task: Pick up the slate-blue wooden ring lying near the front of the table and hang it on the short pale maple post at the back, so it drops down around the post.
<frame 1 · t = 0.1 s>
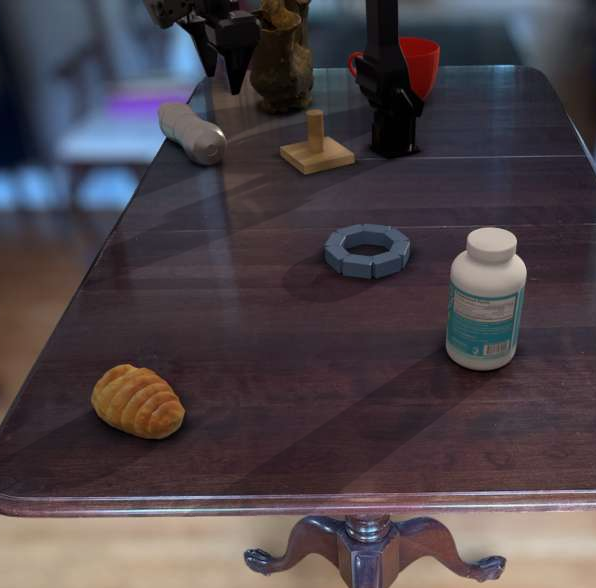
hand: (222, 85, 99), 15 cm above the table, tool pointing down, fingers open, 9 cm apart
plastic bottle: (211, 149, 111), point 3 cm above the table
pottery vessel: (286, 104, 137), on the table
pill bottle: (479, 354, 77), on the table
pastry: (143, 413, 70), on the table
ceramic cup: (392, 104, 137), on the table
stand: (317, 159, 116), on the table
ring: (367, 257, 92), on the table
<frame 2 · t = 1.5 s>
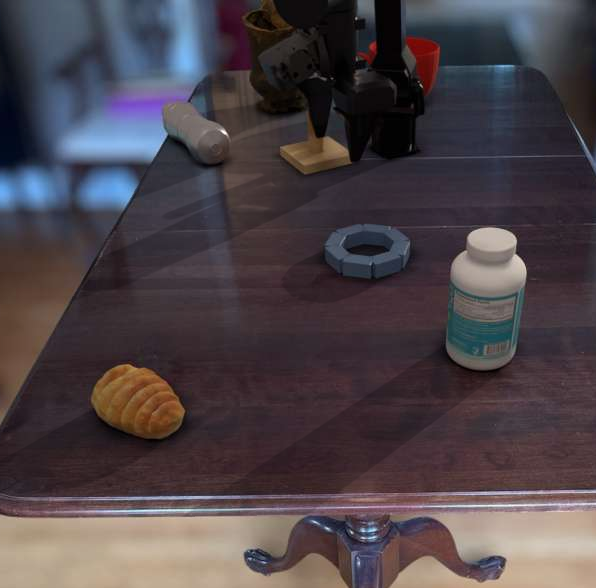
hand: (337, 149, 88), 12 cm above the table, tool pointing down, fingers open, 9 cm apart
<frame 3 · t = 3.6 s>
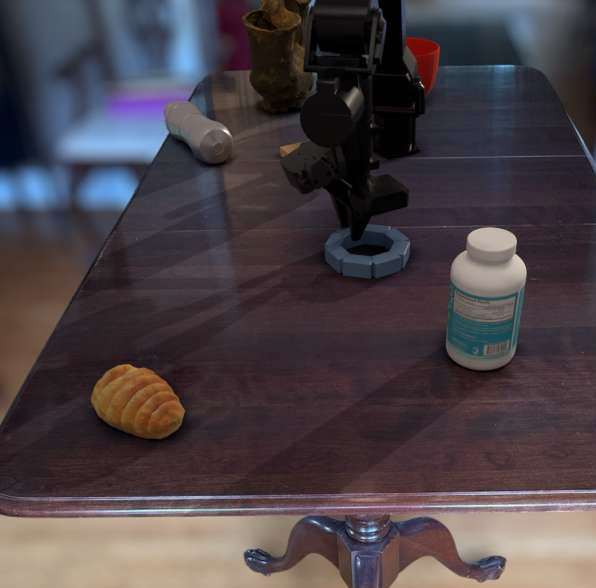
hand: (351, 236, 94), 1 cm above the table, tool pointing down, fingers closed on ring, 2 cm apart
ring: (367, 257, 92), on the table, touching gripper
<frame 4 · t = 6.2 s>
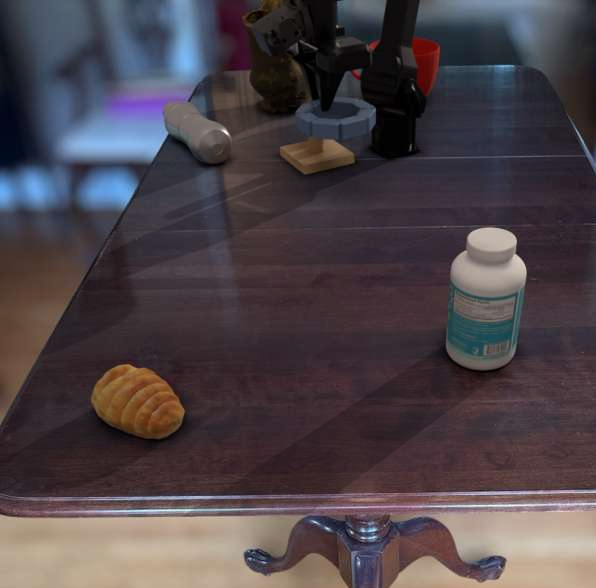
hand: (321, 108, 100), 12 cm above the table, tool pointing down, fingers closed on ring
ring: (336, 125, 98), point 11 cm above the table, touching gripper
everything else where it was.
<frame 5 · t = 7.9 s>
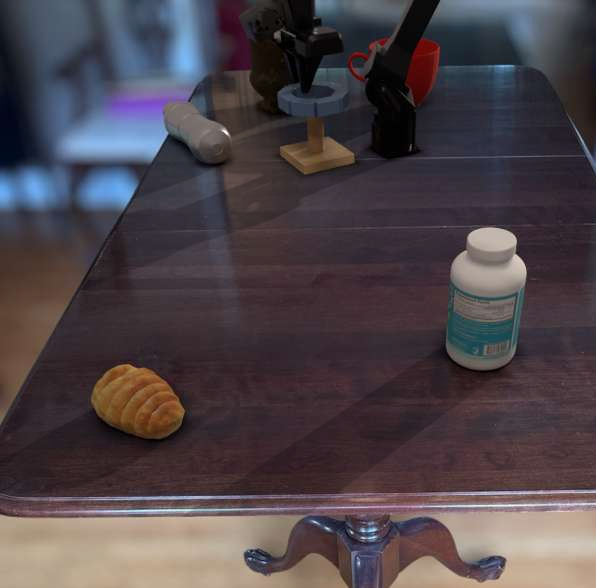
hand: (302, 91, 113), 10 cm above the table, tool pointing down, fingers closed on ring
ring: (313, 105, 111), point 9 cm above the table, touching gripper
everything else where it was.
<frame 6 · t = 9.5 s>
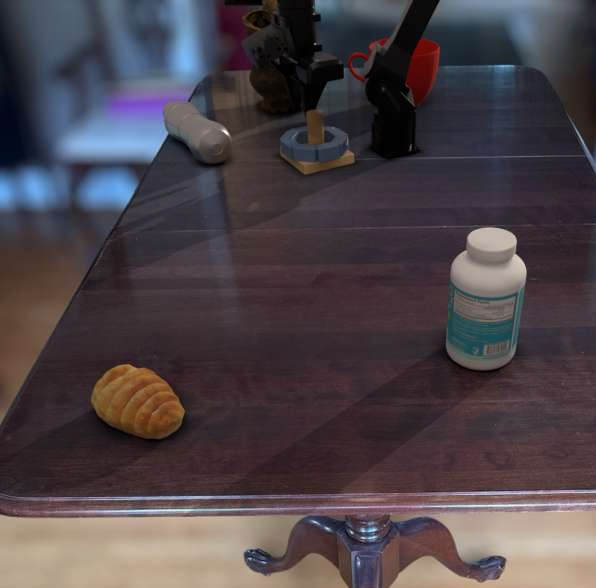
hand: (302, 113, 115), 6 cm above the table, tool pointing down, fingers open, 4 cm apart
ring: (314, 149, 116), point 1 cm above the table, touching stand
everything else where it was.
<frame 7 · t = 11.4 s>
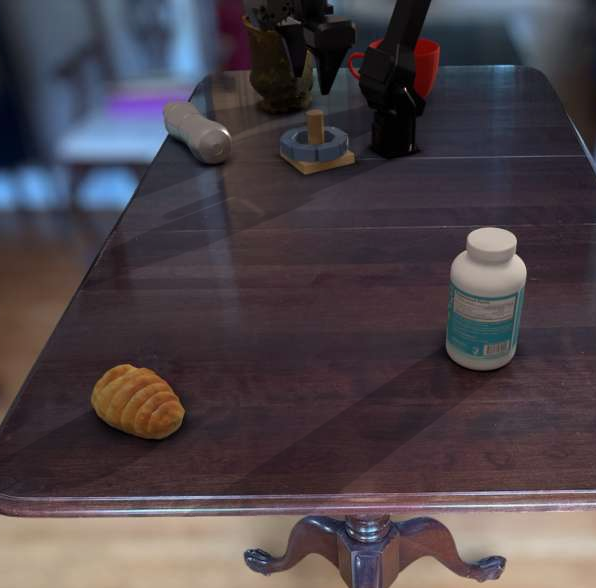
hand: (311, 85, 104), 13 cm above the table, tool pointing down, fingers open, 9 cm apart
nothing on the table moved.
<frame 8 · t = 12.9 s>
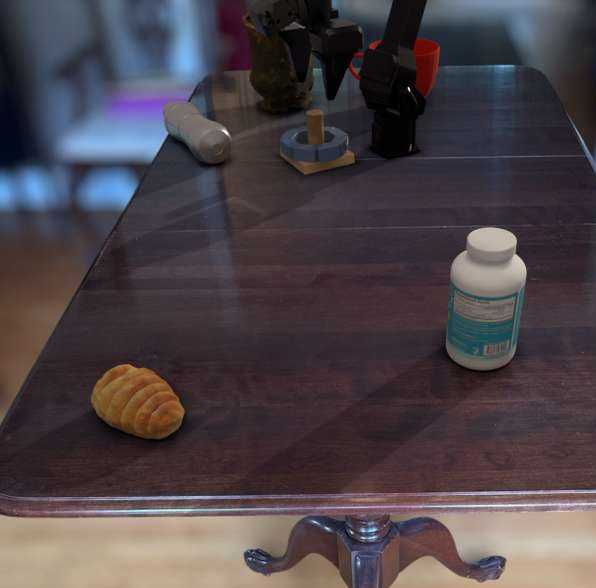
hand: (315, 91, 102), 13 cm above the table, tool pointing down, fingers open, 9 cm apart
nothing on the table moved.
at the end: ring 0.5 cm off-centre on the stand, point 1.5 cm above the stand's base; the gripper is holding nothing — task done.
